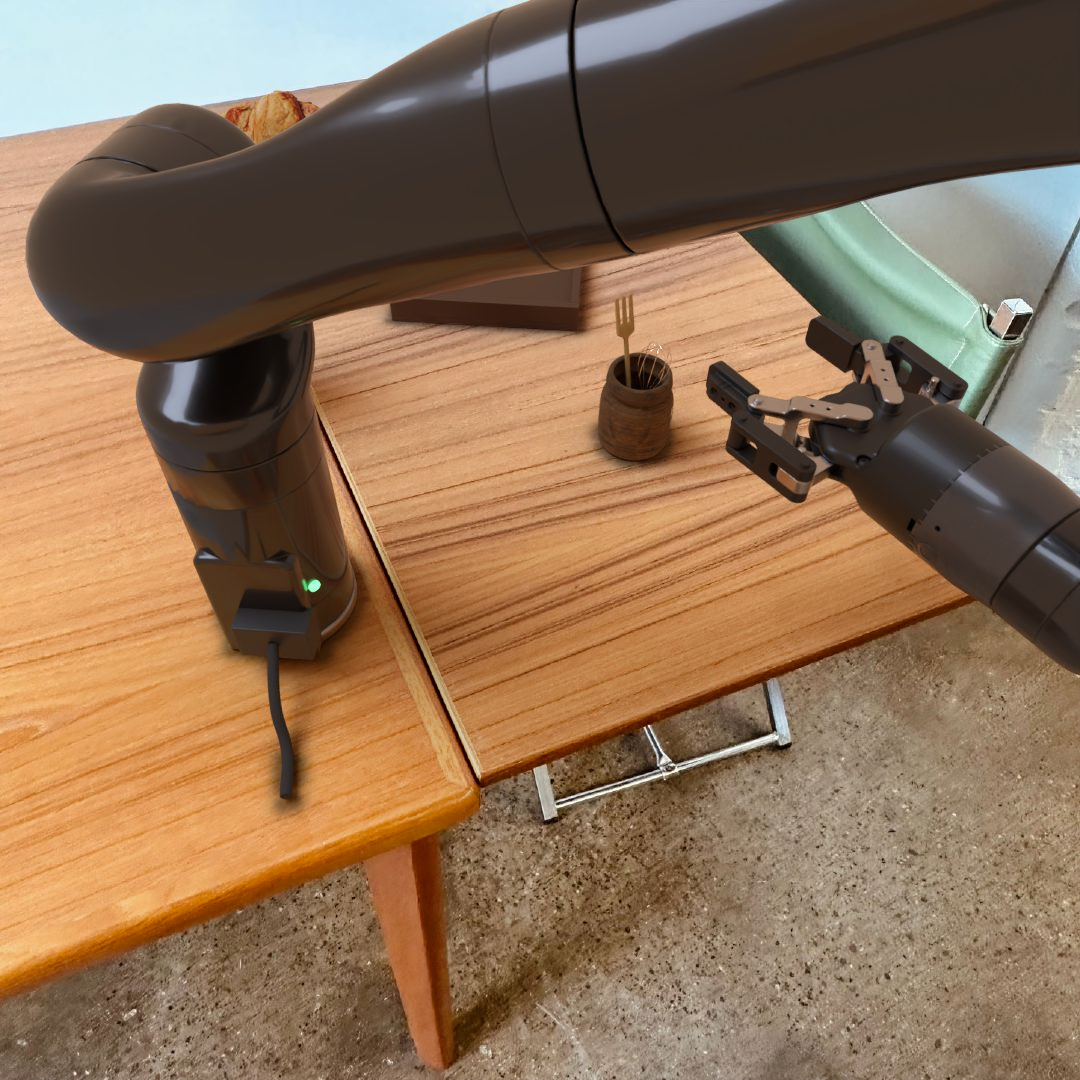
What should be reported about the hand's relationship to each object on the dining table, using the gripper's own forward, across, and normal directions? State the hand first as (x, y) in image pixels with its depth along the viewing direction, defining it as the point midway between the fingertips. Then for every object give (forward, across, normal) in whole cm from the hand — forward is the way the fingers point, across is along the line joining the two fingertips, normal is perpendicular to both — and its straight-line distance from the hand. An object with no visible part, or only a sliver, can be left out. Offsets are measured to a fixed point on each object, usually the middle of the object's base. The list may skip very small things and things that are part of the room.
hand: (762, 350), depth 58 cm
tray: (+40, -4, +16) cm, 43 cm away
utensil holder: (+11, 0, +16) cm, 20 cm away
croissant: (+73, +5, +16) cm, 75 cm away
